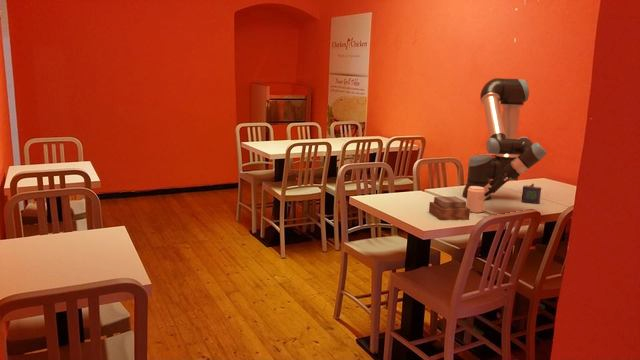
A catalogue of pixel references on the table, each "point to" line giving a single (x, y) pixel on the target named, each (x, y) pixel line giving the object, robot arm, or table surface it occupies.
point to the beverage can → (475, 199)
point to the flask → (531, 194)
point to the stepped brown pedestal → (449, 208)
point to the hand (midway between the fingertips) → (479, 196)
